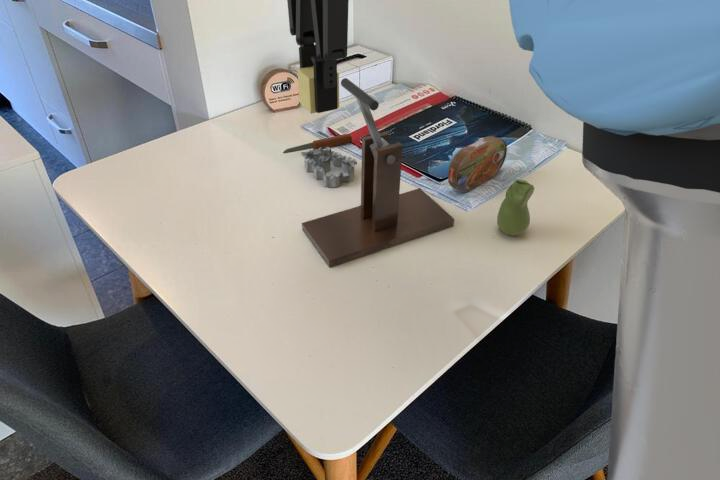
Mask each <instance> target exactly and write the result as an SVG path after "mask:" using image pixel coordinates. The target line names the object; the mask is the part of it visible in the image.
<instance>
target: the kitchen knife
mask: <svg viewBox="0 0 720 480" xmlns="http://www.w3.org/2000/svg"><path fill="white" fill-rule="evenodd" d="M352 140H353V137H352V135H351V134H349V133H343V134H339V135H335V136H329V137H325V138H321V139H316V140H315V139H314V140H313V141H312V142H308V143H304V144H300V145H297V146H293V147H289V148H286V149H284V150H283V152H282V154H290V153H296V152H303V151H306V150H314V149H319V148H322V149H325V148H326V147H329V148H330V147H335V146H343V145H347V144H350V142H352Z"/></svg>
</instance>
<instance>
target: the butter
mask: <svg viewBox="0 0 720 480" xmlns="http://www.w3.org/2000/svg"><path fill="white" fill-rule="evenodd" d="M297 84H298V100H299V104H300V105H301V106H302V107H303V108H304V109H305V110H306V111H307V112H308V113H310V114H311V115H312V114H315V113H317V112H316V111H315V88H314V67H313V66H311V67H306V68H300V67H299V68H297ZM337 107H338V109H339V108H340V73H339V72H338V71H337Z"/></svg>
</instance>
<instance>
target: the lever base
mask: <svg viewBox="0 0 720 480" xmlns="http://www.w3.org/2000/svg"><path fill="white" fill-rule="evenodd" d="M379 134H380V137H381V138H383V139H384V140H385V141H386V142H388V143H389V145H387V146H383V147H379V148H375V151H374V156H373V153H372V151H371V149H370V145H372V144H373V143H374V142H373V139H372V137H371V134H370V135H366V136H362V137H361V170H360V171H361V172H360V173H361V177H360V185H361V186H360V205H357V206H355V207H351V208H347V209H344V210H341V211H337V212H335V213H331V214H327V215H323V216H321V217H317V218H313V219H311V220H307V221H303V222H301V229H302V230H301V231H303V233H304V235H305V236H306V237H307V239H308V240H309V241H310V243H311V245H313V247H314V248H315V250H316V251H317V252H318V254H319V255H320V257H321V258H322V259H323V261H324V262H325V264H326V265H327V267H328V268H333V267H336V266H339V265H341V264H344V263H347V262H350V261H354V260H357V259H359V258H362V257H366V256H368V255H371V254H375V253H378V252H380V251H384V250H386V249H390V248H392V247H395V246H398V245H401V244H404V243H407V242H410V241H413V240H416V239H418V238H422V237H424V236H428V235H431V234H433V233H436V232H440V231H443V230H445V229H449V228H452V227H454V225H455V218H454V217H453V216H452V215H451V214H449V212H447V211H446V210H445V208H443V207H442V206H440V205H439V204H438V203H437V201H435V200H434V199H433V198H432V197H431V196H430V195H428V194H427V193H426V192H425V191H424V190H423V189H422V188H420V187H419V188H415V189H412V190H409V191H405V192H402V193H400V189H401V177H402V162H403V161H402V160H403V147H404V145H403V144H402V143H401V142H395V143H390V133H389V132H388V131H383V132H379Z"/></svg>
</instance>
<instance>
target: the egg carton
mask: <svg viewBox="0 0 720 480" xmlns="http://www.w3.org/2000/svg"><path fill="white" fill-rule="evenodd" d="M300 152H301V156H302V157H303V159H304V171H306V172H307V173H313V177H314V179H315V180H323V186H324V187H327V188H328V187H329V188H331V187H332V188H337V187H340V183H342V182H347V183H351V182H354V177H355V167H356V166H357V165H358V162H357V160H356V159H354V158H353V157H350V156H348V157H347V156H346V155H344V154H342V153H341V152H338V151H335V150H332V148H330V146H329V147H324V148H319V149H314V150H313V149H309V150H308V151H300Z"/></svg>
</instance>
